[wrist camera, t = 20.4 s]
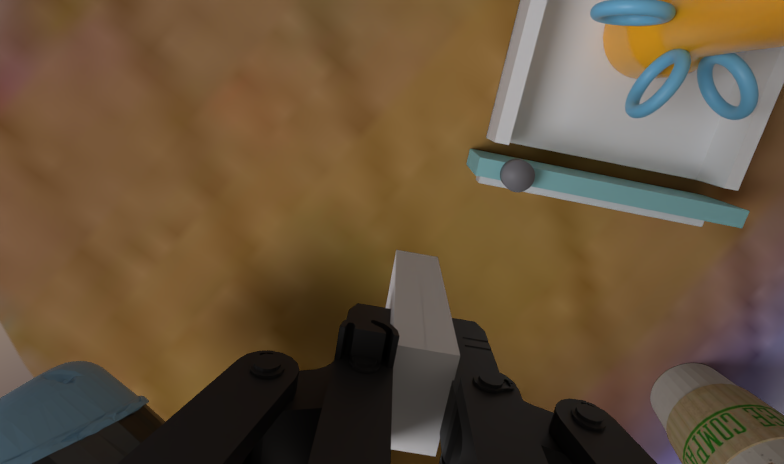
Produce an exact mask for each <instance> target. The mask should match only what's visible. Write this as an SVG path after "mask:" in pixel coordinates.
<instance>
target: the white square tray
mask: <svg viewBox="0 0 784 464" xmlns="http://www.w3.org/2000/svg"><path fill="white" fill-rule="evenodd" d="M603 1H607V0H520V4H519V8H518V12H517V16H516V20H515V24H514V28H513V32H512V36H511V40H510V44H509V48H508V52H507V56H506V60H505V64H504V68H503V72H502V76H501V80H500V84H499V88H498V92H497V96H496V100H495V104H494V108H493V112H492V116H491V120H490V124H489V128H488V132H487V136H486V138H488V139H490V140H491V141H493V142H496V143H501V144H506V145H509V143H514V144H519V145H524V146H529V147H534V148H539V149H544V150H549V151H554V152H559V153H564V154H569V155H574V156H579V157H584V158H589V159H594V160H599V161H604V162H609V163H614V164H619V165H624V166H629V167H634V168H639V169H644V170H649V171H654V172H659V173H664V174H669V175H674V176H679V177H684V178H689V179H694V180H698V181H702V182H705V183H708V184H712V185H715V186H719V187H722V188H726V189H731V190H736V191H738V190H739V187H740V185H741V183H742V180H743V178H744V176H745V173H746V171H747V169H748V166H749V164H750V161H751V159H752V157H753V154H754V152H755V150H756V147H757V145H758V143H759V140H760V138H761V135H762V133H763V131H764V128H765V126H766V124H767V121H768V119H769V117H770V114H771V112H772V110H773V107H774V105H775V102H776V100H777V98H778V95H779V93H780V91H781V88H782V86H783V84H784V47H776V48H768V49H761V50H753V51H745V52H737V53H735V54H737V55H738V56H740V57H741V58H742V59H743V60H744V61H745V62H746V63H747V64H748V66H749V67H750V69H751V70H752V72H753V74H754V76H755V78H756V81H757V85H758V92H759V96H758V102H757V105H756V108H755V109H754V111H753V112H752V113H751V114H750V115H749V116H747V117H746V118H743V119H740V120H730V119H726V118H724V117H722V116H720V115H718V114H717V113H716V112H714V111H713V110H712V109H711V108H710V106H709V105H708V104H707V103H706V101H705V100H704V98H703V96H702V94H701V92H700V89H699V86H698V81H697V70H695V71H693V72H691V73H688V74H687V76H686V78H685V80H684V81H683V83H682V84H681V86H680V87H679V89H678V90H677V91H676V92H675V94H674V95H673V96H672V97H671V98H670V99H669V100H668V101H667V102H666V103H665V104H664V105H663V106H662V107H660V108H659V109H658V110H656V111H655V112H653V113H652V114H650V115H648V116H646V117H643V118H632V117H630V116H629V115H628V114H627V113H626V111H625V102H626V99H627V96H628V94H629V92H630V90H631V88H632V86H633V85H634V83H635V82H636V80H637V79H635V78H630V77H627V76H625V75H623V74H621V73H620V72H618V71H617V70H616V69H615V68H614V67H613V66H612V65H611V64H610V62H609V60H608V58H607V56H606V54H605V50H604V47H603V33H604V27H605V24H604V23H600V22H597V21H595V20H593V19H592V18H591V16H590V11H591V9H592V7H593V6H594V5H595V4H597V3H599V2H603ZM667 78H668V77H667ZM667 78H654V80H653V81H652V82H651V83H650V84H649V86H648V87H647V89H646V90H645V92H644V93H643V95H642V97H641V100H640V103H639V104H642V103H644V102H645V101H647V100H648V99H649V98H650V97H652V96H653V95H654V94H655V93H656V92H657V91H658V90H659V89H660V87H661V86H662V85H663V84H664V83H665V81H666V80H667ZM713 80H714V84H715V86H716V89H717V90H718V92H719V94H720V95H721V96H722V98H723V99H724V100H725V101H726V102H728V103H729V104H731V105H733V106H738V105H739V104H740V90H739V87H738V84H737V82H736V80H735V78H734V77H733V75H732V74H731V73H730V72H729V71H728V70H727V69H726V68H725V67H723V66H722V65H719V64H715V65H714V67H713ZM476 180H477V181H478V183H482V184H487V185H492V186H497V187H503V188H507V187H506V186H505V185H504V184H503V183H502V181H501V180H496V179H491V178H486V177H481V176H476ZM523 192H528V193H533V194H538V195H543V196H548V197H553V198H558V199H563V200H568V201H573V202H578V203H583V204H588V205H594V206H599V207H604V208H609V209H614V210H619V211H624V212H629V213H634V214H639V215H644V216H649V217H654V218H659V219H664V220H669V221H674V222H679V223H685V224H690V225H695V226H700V227H702V225H703V223H704V221H703V220H698V219H693V218H688V217H683V216H678V215H673V214H668V213H663V212H658V211H652V210H647V209H642V208H637V207H632V206H627V205H622V204H617V203H612V202H607V201H602V200H597V199H592V198H587V197H582V196H577V195H572V194H567V193H562V192H557V191H552V190H546V189H541V188H536V187H530V188H528V189H527V190H525V191H523Z"/></svg>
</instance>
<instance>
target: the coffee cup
mask: <svg viewBox="0 0 784 464" xmlns="http://www.w3.org/2000/svg"><path fill="white" fill-rule="evenodd" d="M650 400H651V405H652V407H653V409H654V411H655V413H656V415H657V416H658V418H659V420H660V422H661V423H662V425H663V427H664V429H665V430H666V432H667V436H668V439H669V441H670V443H671V445H672V447H673V448H674V450H675V452H676V454H677V455H678V457H679V459H680V461H681V462H682V464H784V415H782V414H781V413H779V412H778V411H777V410H775V409H774V408H772V407H771V406H769V405H768V404H766V403H765V402H763V401H762V400H760V399H759V398H757V397H756V396H755V395H753V394H752V393H750V392H749V391H747V390H745V389H743V388H741V387H739V386H737V385H736V384H734V383H733V382H731V381H730V380H728V379H727V378H726V377H724V376H723V375H721V374H720V373H718V372H717V371H716V370H714V369H713V368H711V367H709V366H707V365H703V364H699V363H686V364H682V365H678V366H675V367H673V368H671V369H669V370H668V371H666V372H665V373H663V374H662V375H661V376H660V377H659V378H658V379H657V381H656V382H655V384H654V386H653V388H652V391H651V397H650Z"/></svg>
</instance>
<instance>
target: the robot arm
mask: <svg viewBox="0 0 784 464" xmlns="http://www.w3.org/2000/svg"><path fill="white" fill-rule="evenodd" d="M148 402H149V400H148V399H147V398H145V397H144V396H137V395H136V394H135V393H133V392H132V391H131V390H130V389H128V388H127V387H126V386H125V385H123V384H122V383H121V382H120V381H118V380H117V379H116V378H115V377H113V376H112V375H111V374H110V373H108V372H107V371H106V370H105V369H103V368H102V367H100V366H99V365H97V364H94V363H91V362H86V361H74V362H68V363H64V364H61V365H58V366H56V367H54V368H52V369H50V370H48V371H46V372H44V373H42V374H40V375H39V376H37V377H35V378H33V379H32V380H30V381H28V382H26V383H25V384H23V385H21V386H20V387H18V388H16V389H15V390H13V391H11V392H10V393H8V394H6V395H5V396H3V397H1V398H0V464H390V460H391V449H392V450H398V451H404V452H410V453H417V454H423V455H429V456H435V457H436V453H437V449H438V445H439V440H440V441H441V450H442V454H441V458H440V462H439V464H657V463H656V462H655V461H654V460H653V459H652V458H651V457H650V456H649V455H648V454H647V453H646V452H645V451H644V449H643V448H642V447H641V446H640V445H639V444H638V443H637V442H636V441H635V440H634V439H633V438H632V437H631V436H630V435H629V434H628V433H627V432H626V431H625V430H624V429H623V428H622V427H621V426H620V425H619V423H618V422H617V421H616V420H615V419H614V418H612V417H611V416H610V415H609V414H608V413H606V412H605V411H604V410H602V409H600V408H598V407H597V406H595V405H594V404H592V403H589V402H588V403H587V402H586V401H583V400H576V399H564V400H561V401H559V402H558V403H557V404H556V407H555V410H554V413H553V412H550V411H547V410H544V409H542V408H539V407H536V406H534V405H531V404H529V403H527V402H525V401H523V399H522V397H521V394H520V392H519V389H518V388H517V386H516V385H515V383H514V382H513V381H512V380H511V379H509V378H508V377H507V376H505V375H503V374H501V373H499V370H498V367H497V364H496V361H495V359H494V356H493V353H492V351H491V347H490V345H489V343H488V339H487V336H486V334H485V331H484V330H483V329H482V328H481V327H480V326H479V325H478V324H477V323H476V322H473V321H467V320H461V319H455V318H452V317H451V313H450V309H449V304H448V300H447V296H446V291H445V287H444V283H443V278H442V274H441V269H440V265H439V261H438V257H434V256H428V255H423V254H417V253H411V252H405V251H400V250H396V255H395V260H394V266H393V271H392V276H391V282H390V287H389V292H388V298H387V303H386V308H382V307H377V306H371V305H365V304H359V303H358V304H356V305H355V306H354V307H352V308H351V309H350V310H349V312H348V316H347V320H344V321H343V322H342V324H341V325H340V328H339V334H338V340H337V347H336V353H335V359H334V361H333V362H332V363H331V364H329V365H328V366H326V367H323V368H319V369H314V370H302V371H299V367H298V363H297V362H296V361H295V360H294V359H293V358H292V357H290V356H288V355H286V354H283V353H280V352H275V351H257V352H253V353H249V354H246V355H245V356H243V357H241V358H239V359H238V360H237V361H236V362H234V363H233V364H232V365H231V366H230V367H229V368H228V369H226V370H225V371H224V372H223V373H222V374H221V375H219V376H218V377H217V378H216V379H215V380H214V381H212V382H211V383H210V384H209V385H208V386H207V387H206V388H204V389H203V390H202V391H201V392H200V393H199V394H197V395H196V396H195V397H194V398H193V399H192V400H190V401H189V402H188V403H187V404H186V405H185V406H183V407H182V408H181V409H180V410H179V411H178V412H177V413H175V414H174V415H173V416H172V417H171V418H170V419H168V420H167V421H166V422H165V421H164V420H163V419H162V418H161V417H160V416H159V415H157V414H156V413H155V412H154V411H153V410H152V409H151V408H150V407H149V406H147V405H146V404H147V403H148Z"/></svg>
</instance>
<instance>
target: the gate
mask: <svg viewBox="0 0 784 464" xmlns="http://www.w3.org/2000/svg"><path fill="white" fill-rule="evenodd" d="M467 166H468V167H469V168H470V169H471V170H472V172H473V173H474V174H475V175H476V176H481V177H486V178H491V179H496V180H501V181H502V183H503V184H504V185H505V186H506V187H507V188H508V189H509V190H511V191H513V192H522V191H525V190H527V189H528V188H530V187H536V188H541V189H546V190H552V191H557V192H562V193H567V194H572V195H577V196H582V197H587V198H592V199H597V200H602V201H607V202H612V203H617V204H622V205H627V206H632V207H637V208H642V209H647V210H652V211H658V212H663V213H668V214H673V215H678V216H683V217H688V218H693V219H698V220H703V221H708V222H713V223H718V224H723V225H728V226H733V227H738V228H742V227H743V225H744V223H745V220H746V218H747V216H748V214H749V211H748V210H745V209H742V208H740V207H737V206H734V205H731V204H728V203H725V202H722V201H719V200H716V199H713V198H710V197H707V196H705V195H701V194H696V193H691V192H686V191H681V190H676V189H671V188H666V187H661V186H656V185H651V184H646V183H641V182H636V181H631V180H626V179H621V178H616V177H611V176H606V175H601V174H596V173H591V172H586V171H580V170H575V169H570V168H565V167H560V166H555V165H550V164H545V163H540V162H535V161H530V160H525V159H520V158H515V157H510V156H505V155H500V154H495V153H490V152H485V151H480V150H475V149H470V151H469V156H468V160H467Z"/></svg>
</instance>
